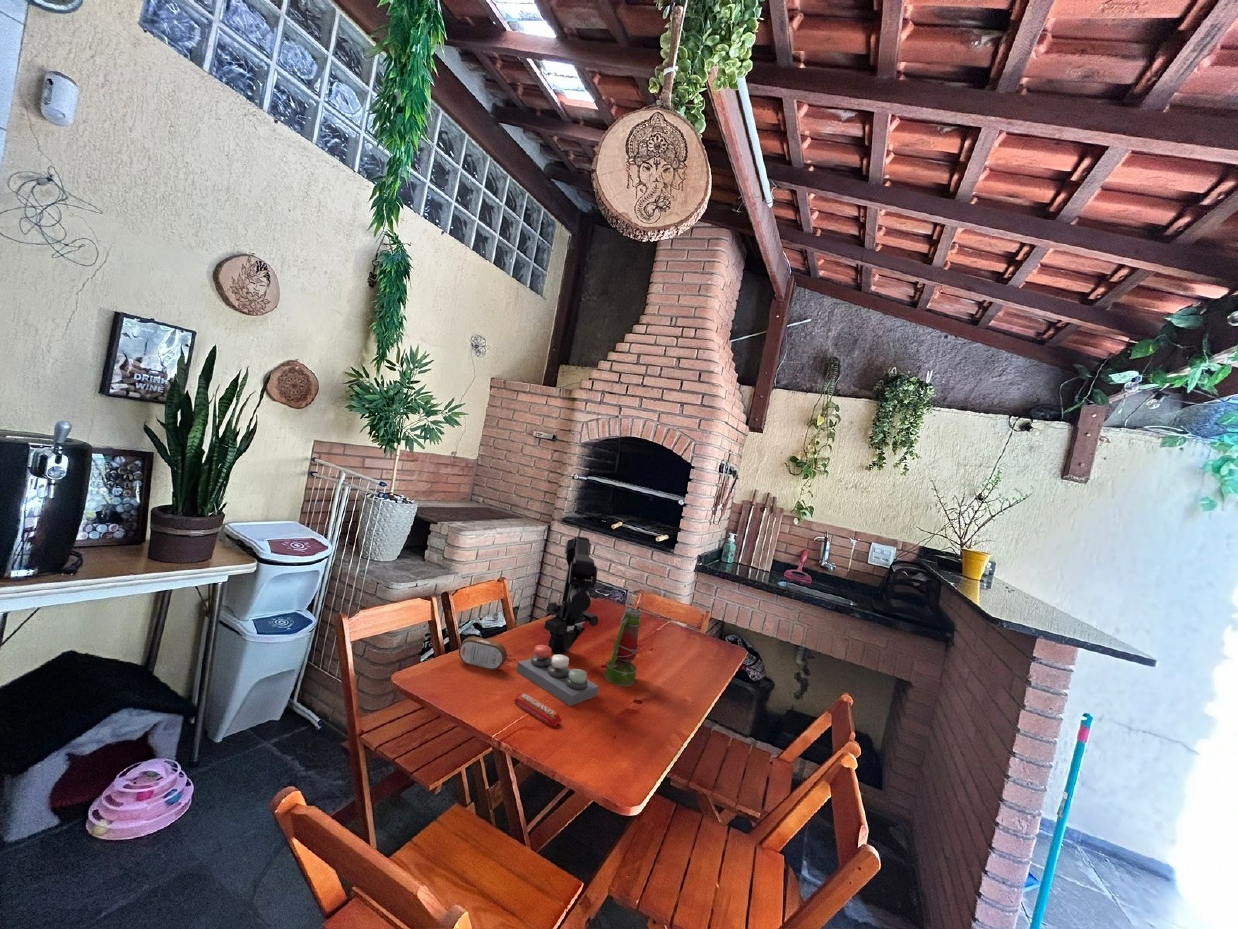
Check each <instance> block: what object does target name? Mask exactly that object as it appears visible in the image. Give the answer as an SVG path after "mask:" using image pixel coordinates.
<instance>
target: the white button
mask: <svg viewBox="0 0 1238 929" xmlns="http://www.w3.org/2000/svg"><path fill="white" fill-rule="evenodd" d="M551 658H552V663H551V664H552V665H553V666H554V667H557V668H568V666H569V663H570V662H569V661H570V659H569V657H568V656H567V655H564V654H559V655H556V654H554V655H552V657H551Z"/></svg>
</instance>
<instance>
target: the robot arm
mask: <svg viewBox="0 0 1238 929" xmlns="http://www.w3.org/2000/svg"><path fill="white" fill-rule="evenodd" d="M591 547H592V543H590V538H589V537H584V536H580V535H577V536H574V538H571V539H568V540H567V541H566V544H565V547H564V548H565V549H564V554H565V559H566V560H565V561H566V563H567V571H566V576H565V580H564V587H563V592H562V596H561V601H560V603H557V602H556V601H555V602H553V601H552V602H548V605H547V609H546V610H547V614H550V615H551V616H552V617H551V618H548V619H546V620H545V621H544V624H543V629H545V630H547V631H548V635H550V637H549V640H548V644H547V646H549V647H550V648H551V649H552V650H551V653H552V654H554V655H564V654H566V653H569V652H570V648H572V646H574V643H575V642H576V641H577V640H578V638H579V637H580V636H581V635H582V633H583V632H585V631H586V628H585V627H583V624H585V623H588V622H589V626H590V627H596V626H598V624H599V623H598V622H599V618H598V616H597V615H596V614H594V613H592V612H590V611H588V610H589V608H590V607H591V602H592V601H591V596H590V592H589V589H590V588H592V589H594V588H595V585H596V583H597V582H598V581H597V580H598V579H597V578H598V569H597V565H595V561H594V559H593V558H592V557H590V555H591Z"/></svg>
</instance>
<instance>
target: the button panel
mask: <svg viewBox="0 0 1238 929" xmlns="http://www.w3.org/2000/svg"><path fill="white" fill-rule="evenodd" d="M551 663H552V657H551V656H550V657H548V658H541V657H538V656H536V655H535V654H533V655H532V656H531V658H529V659H524V660H520V661H517V666H516V672H517V673H518V674H520V675H521V676H523V677H524V678H526V679H527V678H528V679H527V680H529V681H530V682H531V683H533V682H534V683H533V684H535V685H536V686H539V688H541V689H542V690H545V691H546V692H547V691H548V694H551V695H552V696H553V697H555V698H557V699H558V700H560V701H561V702H563V703H564V704H566V705H567V706H569V707H572V706H574V705H576V704H580V703H582V702H585V701H587V700H590V699H592V698H595V697H598V694H599V688H600V686H599V685H598V684H596V683H594V682H593V681H592V680H589V679H588V678H586V682H585V683H582V684H578V683H574V682H572V681H570V680H569V675H570V671H571V670H572V669H570V668H568V667H567V668H557V667H554V666H553V665H552V664H551Z"/></svg>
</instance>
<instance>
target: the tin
mask: <svg viewBox="0 0 1238 929" xmlns="http://www.w3.org/2000/svg"><path fill="white" fill-rule="evenodd" d="M458 656H459V658H460V660H461V661H462V662H463V663H465V664H466V665H470V666H473V667H477V668H481V669H484V668H485V669H486V670H489V671H496V670H498V669H500V668H501V667H502V666H504V664H505V662H506V661H507V658H508V652H507V649H506V648H505V646H504V645H503V644H502V643H500V642H498V641H494V640H491V639H486V638H482V637H478V636H468V637H466V638H465V639H464V640H463V641H462V642H461V644H459V647H458Z"/></svg>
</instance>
